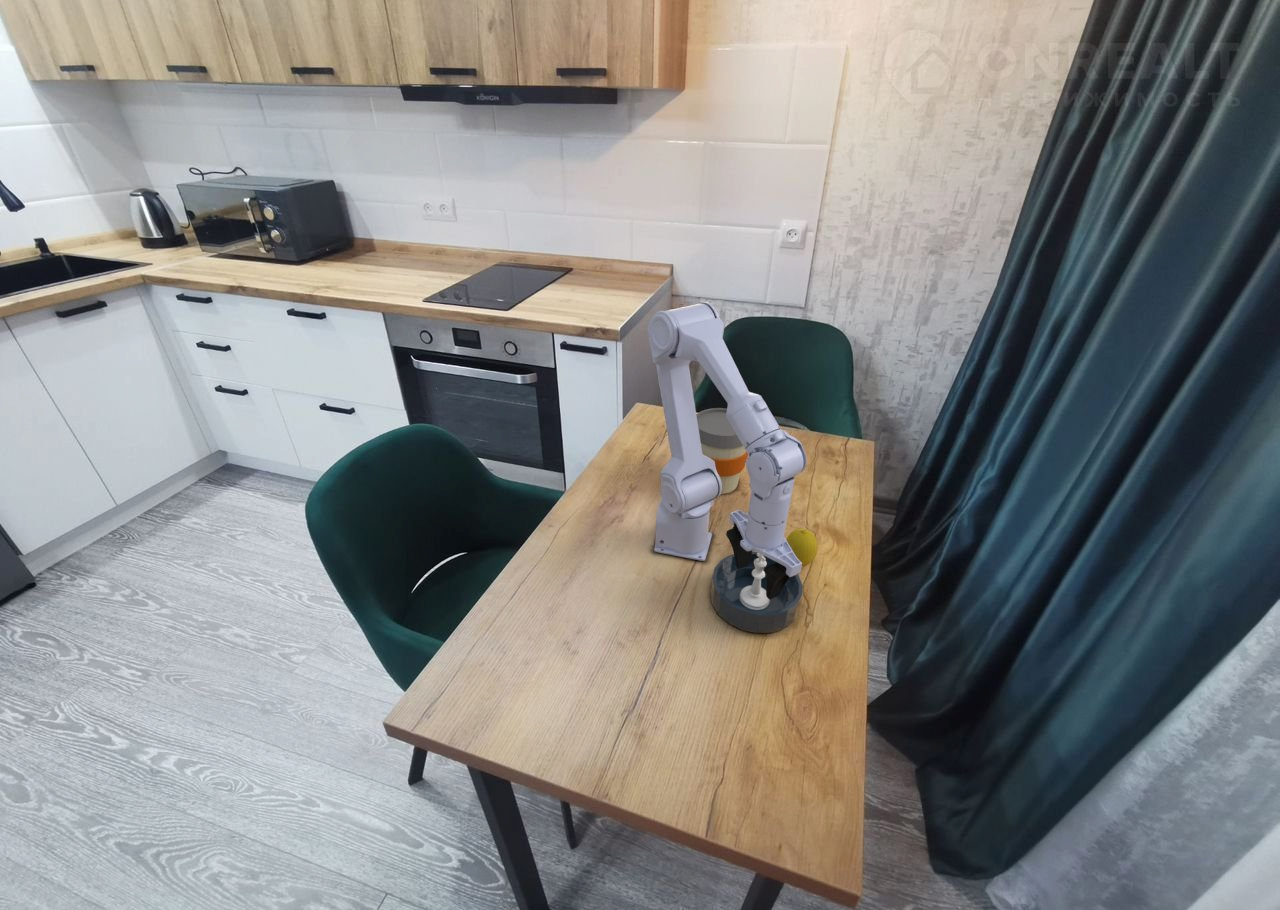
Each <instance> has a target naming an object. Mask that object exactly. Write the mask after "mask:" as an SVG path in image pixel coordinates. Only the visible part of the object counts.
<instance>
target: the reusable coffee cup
mask: <svg viewBox="0 0 1280 910" xmlns="http://www.w3.org/2000/svg"><path fill="white" fill-rule="evenodd" d="M726 412H727V408H725V407H724V408H722V407H714V408H708V409H704V410H701V411H699V412H696V416H697V422H698V429H699V435H700V442H701V448H702V454H703V455H705V456H707V457H709V458H711V459H712V460H713V461H714V462H715V467H716V470H717V473H718V475H719V477H720V479H721V483H722V491H721V494H720V495H724V494H728V493H731V492H733V491H735V489H737V488H738V484H739V480H740V477H741V473H742V471H744V469H745V467H746V459H747V458H748V456H749V455H748V453H747V452H746V450H745V448H744V446H743V445H742V443H741V441H740V439H739V438H738V436H737V434H736V433H735V431H734V429H733V427H732V426H731V424H730V422H729V421H728V419H727V417H726Z"/></svg>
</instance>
